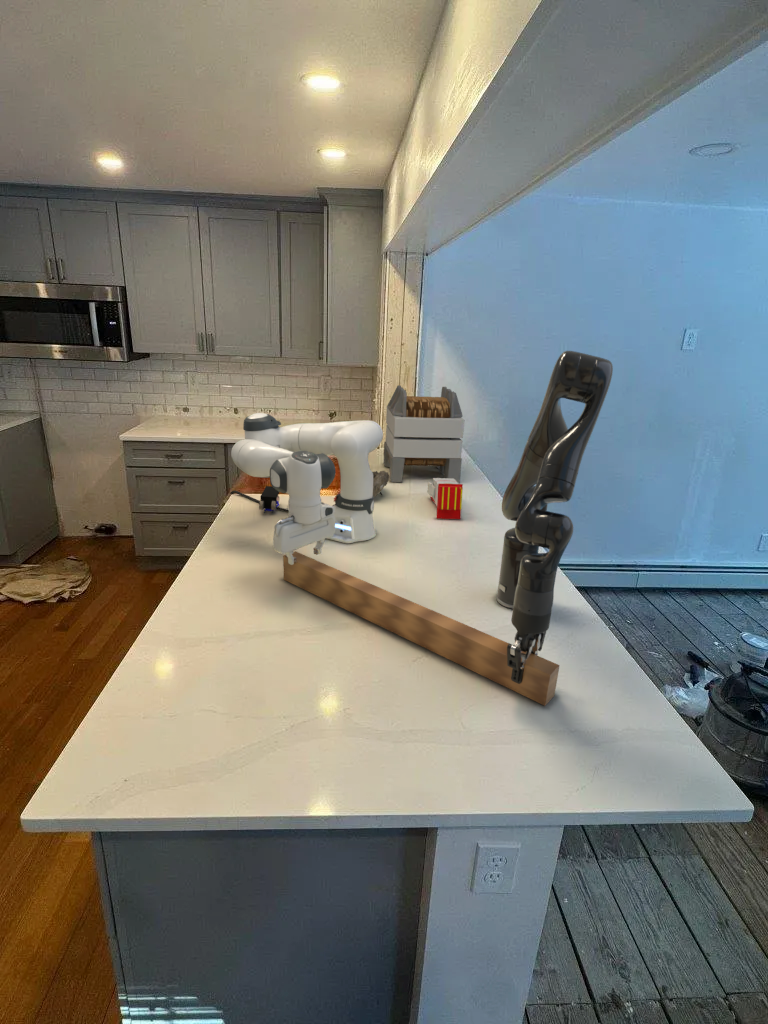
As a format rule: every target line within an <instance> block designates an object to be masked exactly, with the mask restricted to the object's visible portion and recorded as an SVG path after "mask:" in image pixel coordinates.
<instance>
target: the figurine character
mask: <svg viewBox="0 0 768 1024" xmlns="http://www.w3.org/2000/svg"><path fill="white" fill-rule="evenodd" d="M279 495H280V492H279V491H277V490H276V489H275V488H273V487H272V485H266V486H265V488H264V489H263V490H262V493H261V494H260V500H259V501H260V503H258V509H259V511H263V512H262V513H263V514H264V515H266V513H267V512H270V515H273V514H274V513H275V511H276V510H277V509H276V507H280V503H279V502H280V496H279Z"/></svg>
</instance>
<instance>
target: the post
mask: <svg viewBox="0 0 768 1024" xmlns="http://www.w3.org/2000/svg"><path fill="white" fill-rule="evenodd" d="M292 555H293V557H295V558H296V563H295V564H293V565H291V564H289V563H288V557H287V556H286V554H283V556H282V561H283V562H282V563H283V564H282V566H283V567H282V568H283V580H284V581H286V582H287V583H290V584H292V585H293V586H295V587H298V588H299V589H302V590H304V591H306V592H308V593H310V594H312V595H315V596H317V597H318V598H321V599H322V600H325V601H327V602H329V603H331V604H333V605H335V606H337V607H339V608H341V609H344V610H345V611H347V612H350V613H352V614H353V615H356V616H357V617H360V618H362V619H364V620H366V621H368V622H370V623H372V624H374V625H377V626H379V627H381V628H383V629H385V630H387V631H388V632H391V633H393V634H395V635H397V636H399V637H401V638H403V639H406V640H407V641H409V642H412V643H413V644H416V645H417V646H419V647H420V646H421V647H422V648H424V649H426V650H428V651H430V652H432V653H434V654H436V655H439V656H440V657H443V658H444V659H447V660H449V661H451V662H453V663H455V664H456V665H459V666H462V667H463V668H465V669H466V670H467V669H468V670H470V671H472V672H474V673H476V674H478V675H480V676H482V677H484V678H486V679H489V681H492V682H495V684H496V683H497V684H498V685H500V686H503V687H504V688H507V689H509V690H511V691H513V692H514V693H517V694H519V695H521V696H523V697H525V698H528V699H530V700H531V701H534V702H536V703H538V704H540V705H541V706H544V707H546V706H547V705H548V703H550V702H551V700H552V699H553V698H554V697H555V695H556V688H557V684H558V677H559V670H560V664H558V663H555V662H554V661H551V660H549V659H546V658H544V657H542V656H539V655H535V654H532V653H531V654H530V658H529V659H527V660H526V663H525V667H524V672H523V679H522V682H521V683H520V684H518V683H516V682H514V681H512V680H511V675H512V668H511V667H509V666H507V646H508V644H511V643H509V642H507V641H504V640H502V639H500V638H498V637H495V636H493V635H491V634H488V633H486V632H484V631H481V630H479V629H476V628H475V627H472V626H469V625H468V624H465V623H464V622H460V621H458V620H456V619H454V618H451V617H448V616H447V615H445V614H442V613H440V612H437V611H435V610H433V609H430V608H428V607H426V606H423V605H421V604H419V603H417V602H414V601H412V600H410V599H407V598H404V597H402V596H400V595H398V594H395V593H393V592H392V591H389V590H386V589H384V588H381V587H379V586H377V585H374V584H373V583H370V582H368V581H365V580H363V579H361V578H358V577H356V576H354V575H352V574H349V573H347V572H344V571H342V570H340V569H337V568H335V567H333V566H330V565H328V564H325V563H323V562H321V561H319V560H317V559H314V558H312V557H310V556H308V555H305V554H302V553H300V552H298V551H296V550H294V551H293V554H292ZM511 645H513V644H511ZM522 653H524V654H526V652H523V651H522ZM521 662H522V658H521Z"/></svg>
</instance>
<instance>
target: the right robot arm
mask: <svg viewBox="0 0 768 1024" xmlns="http://www.w3.org/2000/svg"><path fill="white" fill-rule="evenodd" d="M613 371H614V366H613V362H612V361H611V360H609V359H608V358H604V357H600V356H595V355H592V354H587V353H585V352H584V353H583V352H579V351H574V350H565V351H562V352H561V354H560V355H559V356H558V358H557V359H556V362H555V364H554V366H553V369H552V371H551V374H550V378H549V381H548V384H547V387H546V390H545V393H544V397H543V400H542V403H541V406H540V410H539V412H538V415H537V417H536V419H535V422H534V423H533V426H532V429H531V431H530V433H529V435H528V437H527V440H526V443H525V445H524V448H523V451H522V454H521V457H520V460H519V462H518V465H517V467H516V469H515V472H514V474H513V475H512V477H511V478H510V481H509V482H508V485H507V487H506V488H505V490H504V493H503V496H502V499H501V500H502V501H501V512H502V515H503V517H504V518H505V519H507V520H509V521H512V522H513V521H514V522H515V527H512V528H509V529H507V530H506V531H505V533H504V537H503V545H502V553H501V563H500V570H499V576H498V586H497V592H496V593H497V594H496V597H495V598H496V602H497V603H498V604H499V605H500V606H503V607H504V608H508V609H512V612H511V624H512V626H513V627H514V628H515V629H516V633H515V636H514V643H513V644H512V645H511V643H509V644H508V646H507V666H509V667H511V668H512V675H511V680H512V681H514V682H516V683H518V684H520V683H521V682H522V679H523V672H524V667H525V663H526V660H527V659H529V658H530V654H531V653H532V654H535V655H537V656H539V652H541V651H542V649H543V646H544V641H545V638H546V634H547V631H548V630H549V628H550V624H551V623H550V622H551V619H552V612H553V604H554V597H555V595H554V593H555V592H554V591H555V583H556V578H557V571H558V569H559V564H560V562H561V559H562V556H563V555H564V552H565V551H566V549H567V547H568V545H569V544H570V542H571V539H572V537H573V535H574V523H573V521H572V519H571V518H570V516H568V515H567V514H565V513H559V512H554V511H549V510H548V505H549V504H556V503H557V504H559V503H560V504H561V503H567V502H569V501H570V500H571V499H572V497H573V494H574V490H575V486H576V483H577V479H578V475H579V471H580V468H581V465H582V460H583V457H584V454H585V451H586V449H587V446H588V443H589V441H590V440H591V439H590V438H591V437H592V434H593V431H594V429H595V426H596V424H597V421H598V418H599V416H600V413H601V411H602V408H603V406H604V404H605V401H606V398H607V395H608V393H609V389H610V386H611V382H612V378H613ZM561 399H565V400H569V401H573V402H578V403H582V404H584V408H583V410H582V412H581V414H580V416H579V417H578V419H576V421H575V422H574V423H573V424H572V425H571V426H570V427H569V428H568V425H567V422H566V420H565V417H564V415H563V409H562V405H561V404H562V403H561ZM540 548H544V549H547V550H548V551H547V552H539V549H540ZM522 651H523V652H526V654H524V653H522ZM521 658H522V662H521Z"/></svg>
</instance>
